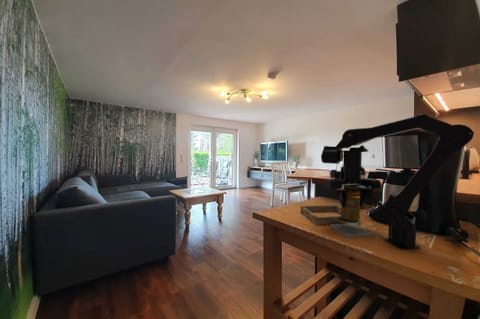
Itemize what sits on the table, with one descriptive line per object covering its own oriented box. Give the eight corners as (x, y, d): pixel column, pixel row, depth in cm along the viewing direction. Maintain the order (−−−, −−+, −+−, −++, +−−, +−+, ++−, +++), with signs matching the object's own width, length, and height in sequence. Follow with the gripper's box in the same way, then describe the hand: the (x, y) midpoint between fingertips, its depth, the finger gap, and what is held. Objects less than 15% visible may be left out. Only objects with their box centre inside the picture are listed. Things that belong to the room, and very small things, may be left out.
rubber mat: (372, 236, 69) (372, 234, 69) (345, 237, 68) (345, 235, 68) (354, 225, 79) (354, 223, 79) (329, 225, 78) (329, 224, 78)
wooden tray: (360, 224, 80) (360, 216, 80) (316, 225, 79) (316, 218, 78) (337, 211, 96) (337, 205, 96) (300, 212, 95) (300, 206, 95)
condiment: (363, 219, 74) (364, 187, 73) (356, 226, 68) (357, 191, 67) (342, 215, 79) (343, 185, 78) (334, 220, 73) (334, 188, 72)
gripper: (361, 162, 81) (360, 200, 82) (317, 163, 80) (316, 201, 80) (383, 164, 70) (381, 208, 71) (332, 165, 68) (331, 210, 69)
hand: (351, 206), depth 73 cm, fingers closed on condiment, 6 cm apart
